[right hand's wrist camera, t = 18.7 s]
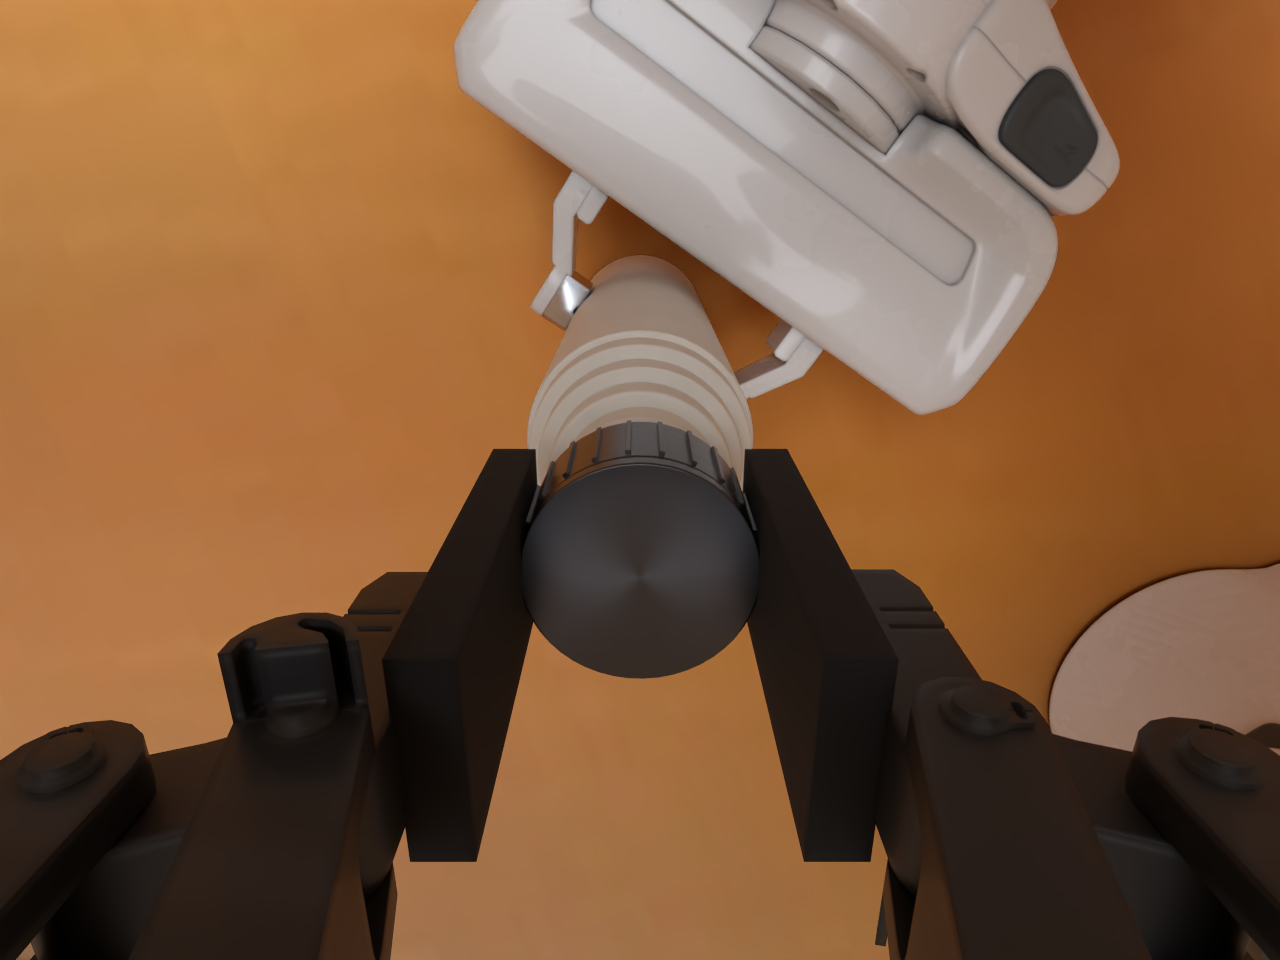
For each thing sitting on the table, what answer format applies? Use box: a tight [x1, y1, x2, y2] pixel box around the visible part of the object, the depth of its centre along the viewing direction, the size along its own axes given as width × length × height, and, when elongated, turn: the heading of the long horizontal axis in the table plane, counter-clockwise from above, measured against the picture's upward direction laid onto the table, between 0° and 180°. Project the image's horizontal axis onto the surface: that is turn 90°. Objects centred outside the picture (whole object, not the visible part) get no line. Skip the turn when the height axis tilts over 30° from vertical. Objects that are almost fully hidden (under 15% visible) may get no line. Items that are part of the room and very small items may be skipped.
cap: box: [521, 420, 760, 679], centre depth 13 cm, size 4×4×2 cm
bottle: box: [527, 255, 753, 491], centre depth 24 cm, size 5×5×23 cm
